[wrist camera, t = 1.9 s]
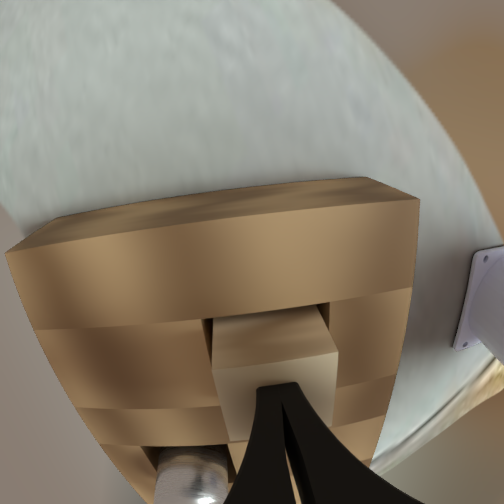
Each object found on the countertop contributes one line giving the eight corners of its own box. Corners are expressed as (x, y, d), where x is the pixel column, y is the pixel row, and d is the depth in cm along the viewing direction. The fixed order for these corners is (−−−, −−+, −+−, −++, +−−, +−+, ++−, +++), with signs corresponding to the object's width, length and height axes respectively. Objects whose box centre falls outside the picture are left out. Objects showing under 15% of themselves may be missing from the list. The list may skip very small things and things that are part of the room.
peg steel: (220, 423, 16) (222, 495, 12) (230, 458, 18) (234, 520, 13) (153, 426, 16) (142, 494, 12) (171, 460, 18) (166, 520, 13)
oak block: (366, 177, 15) (419, 199, 11) (344, 445, 23) (359, 491, 19) (56, 217, 15) (4, 253, 10) (160, 465, 23) (155, 512, 18)
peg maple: (305, 283, 14) (338, 351, 10) (307, 354, 16) (331, 426, 11) (214, 295, 14) (211, 369, 10) (227, 364, 15) (230, 441, 11)
